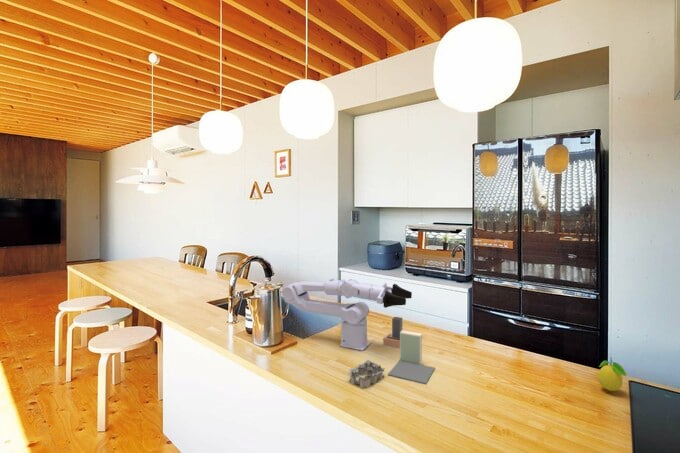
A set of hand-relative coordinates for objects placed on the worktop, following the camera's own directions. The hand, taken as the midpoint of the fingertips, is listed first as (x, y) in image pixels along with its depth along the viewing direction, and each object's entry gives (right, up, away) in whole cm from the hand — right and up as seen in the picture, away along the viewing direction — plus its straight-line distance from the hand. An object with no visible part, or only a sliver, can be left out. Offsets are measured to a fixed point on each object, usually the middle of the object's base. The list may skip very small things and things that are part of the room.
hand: (408, 298), depth 124 cm
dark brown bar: (-2, -20, +11) cm, 23 cm away
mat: (-1, -21, -11) cm, 24 cm away
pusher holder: (-2, -20, +11) cm, 22 cm away
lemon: (+53, -22, -24) cm, 62 cm away
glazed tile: (0, -21, -4) cm, 21 cm away
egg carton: (-16, -22, -15) cm, 31 cm away
